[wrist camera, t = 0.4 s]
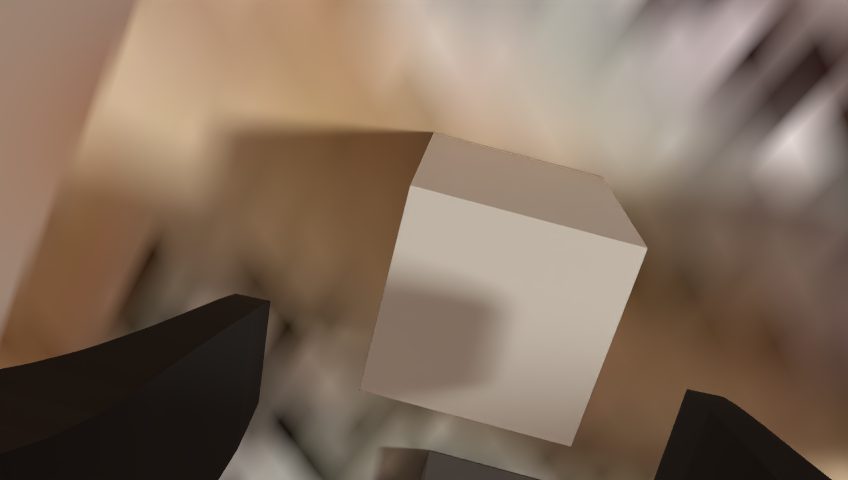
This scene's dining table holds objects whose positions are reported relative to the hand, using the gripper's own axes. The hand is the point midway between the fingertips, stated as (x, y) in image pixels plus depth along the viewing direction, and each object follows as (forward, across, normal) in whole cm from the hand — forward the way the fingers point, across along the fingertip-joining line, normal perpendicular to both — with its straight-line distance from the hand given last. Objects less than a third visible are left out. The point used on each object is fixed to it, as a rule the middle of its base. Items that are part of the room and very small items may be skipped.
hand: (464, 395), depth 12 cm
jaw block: (+9, 0, 0) cm, 9 cm away
